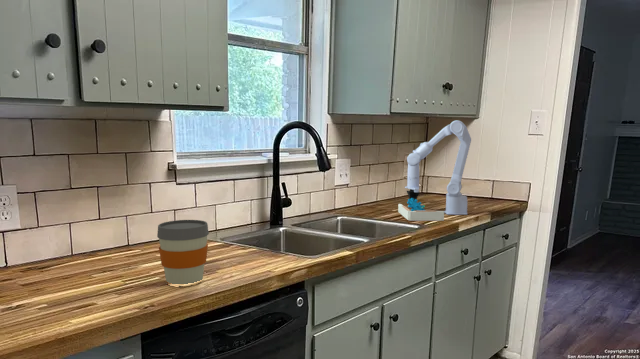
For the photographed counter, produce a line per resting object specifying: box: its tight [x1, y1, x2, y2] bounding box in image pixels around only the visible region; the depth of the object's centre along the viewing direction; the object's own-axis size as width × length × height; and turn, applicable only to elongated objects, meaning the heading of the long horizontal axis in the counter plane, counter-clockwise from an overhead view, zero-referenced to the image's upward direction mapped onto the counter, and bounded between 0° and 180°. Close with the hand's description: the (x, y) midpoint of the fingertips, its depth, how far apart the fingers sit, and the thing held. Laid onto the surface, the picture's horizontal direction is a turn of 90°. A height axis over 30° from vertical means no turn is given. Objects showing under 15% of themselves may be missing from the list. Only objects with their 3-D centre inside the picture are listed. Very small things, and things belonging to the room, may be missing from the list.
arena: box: [397, 203, 445, 222], centre depth 211 cm, size 16×22×4 cm
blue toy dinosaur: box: [406, 198, 426, 211], centre depth 217 cm, size 11×6×10 cm
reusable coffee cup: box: [156, 219, 210, 284], centre depth 117 cm, size 13×12×15 cm
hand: (412, 205), depth 225 cm, fingers closed
